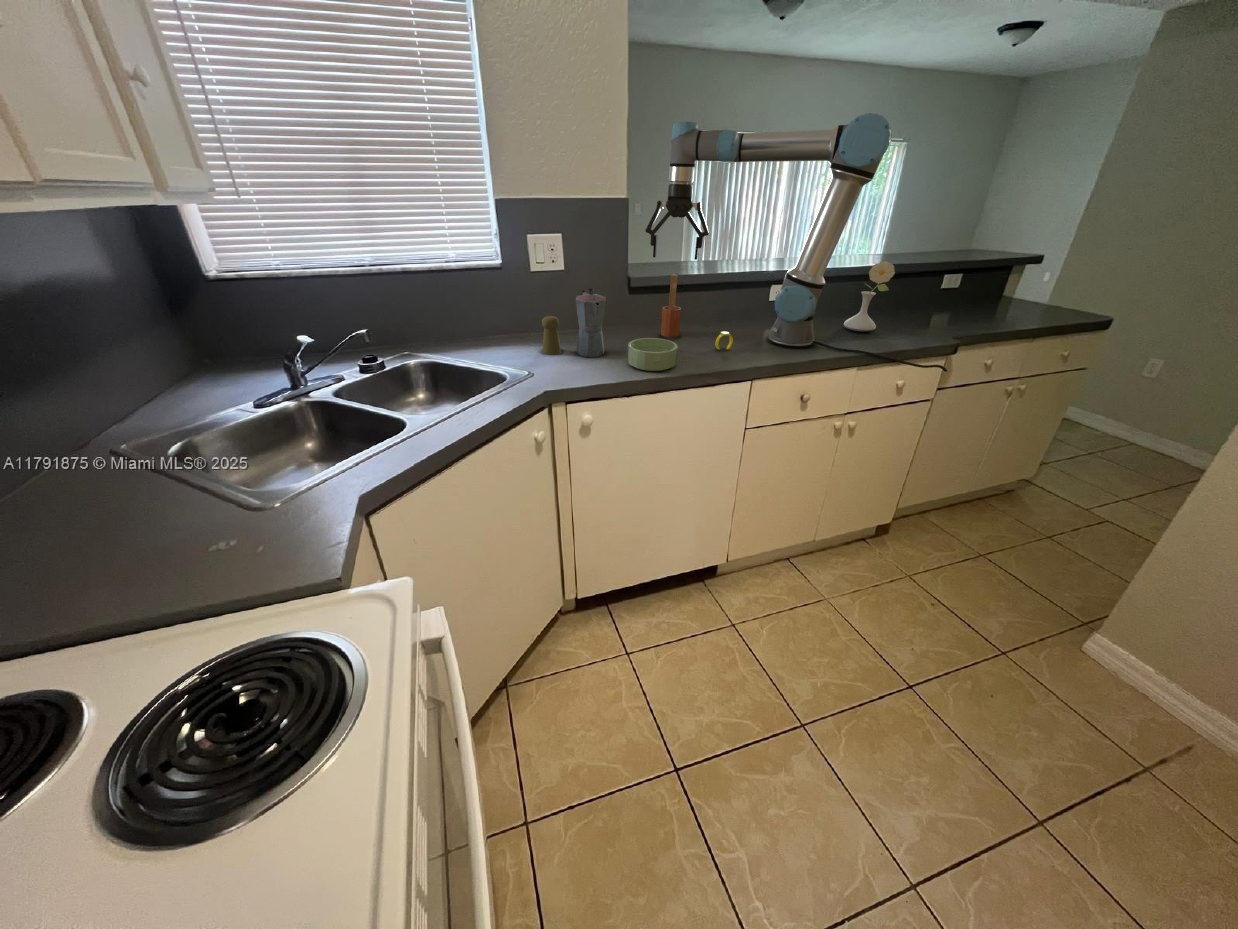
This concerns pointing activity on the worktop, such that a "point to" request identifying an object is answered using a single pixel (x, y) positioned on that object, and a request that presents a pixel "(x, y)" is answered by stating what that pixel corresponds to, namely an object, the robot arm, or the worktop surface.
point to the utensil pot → (670, 322)
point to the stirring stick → (672, 292)
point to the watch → (724, 335)
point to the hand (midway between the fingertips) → (675, 258)
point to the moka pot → (590, 324)
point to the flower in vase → (878, 275)
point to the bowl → (652, 354)
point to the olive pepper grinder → (551, 336)
